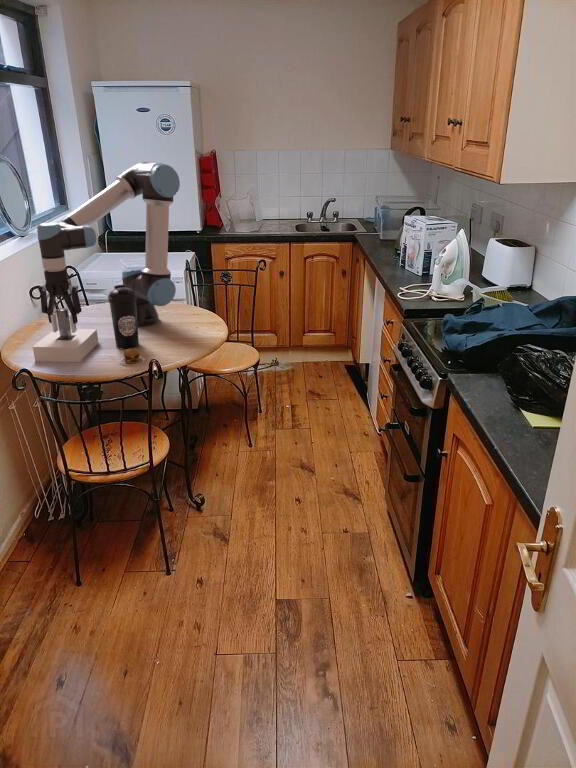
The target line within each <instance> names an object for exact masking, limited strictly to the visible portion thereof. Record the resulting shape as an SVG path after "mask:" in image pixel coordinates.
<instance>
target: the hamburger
mask: <svg viewBox="0 0 576 768" xmlns="http://www.w3.org/2000/svg"><path fill="white" fill-rule="evenodd" d="M140 359H141V360H142V361H141V362H140V363H138V362H139V360H140ZM145 360H146V359H145V357H144V356H141V355H140V353H139V351H138V350H137V349H136V348H130V349H124V352H123V357H122V358H121V359H119V360H118V362H119V364H121V365H123V366H126V364H127V366H129V367H131V366H133V365H134V366H138V365H141V364H142V363H144V362H145ZM123 361H124V362H125V363H126V364H124V363H123Z"/></svg>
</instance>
